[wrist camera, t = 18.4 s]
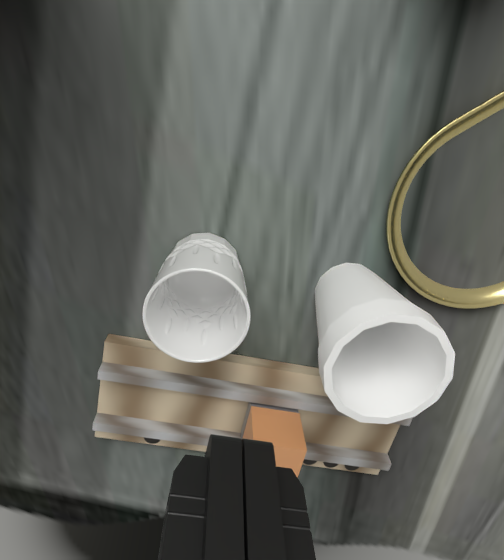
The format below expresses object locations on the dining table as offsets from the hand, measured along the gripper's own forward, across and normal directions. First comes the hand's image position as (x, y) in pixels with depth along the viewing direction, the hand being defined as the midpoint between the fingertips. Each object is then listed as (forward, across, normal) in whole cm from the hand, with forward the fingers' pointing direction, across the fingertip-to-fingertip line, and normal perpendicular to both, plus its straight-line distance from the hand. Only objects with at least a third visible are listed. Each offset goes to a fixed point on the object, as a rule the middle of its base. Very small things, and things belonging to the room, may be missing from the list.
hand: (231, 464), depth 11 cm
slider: (+29, -9, +23) cm, 38 cm away
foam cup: (+31, -13, +8) cm, 35 cm away
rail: (+31, -7, +23) cm, 39 cm away
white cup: (+31, +1, +8) cm, 32 cm away
